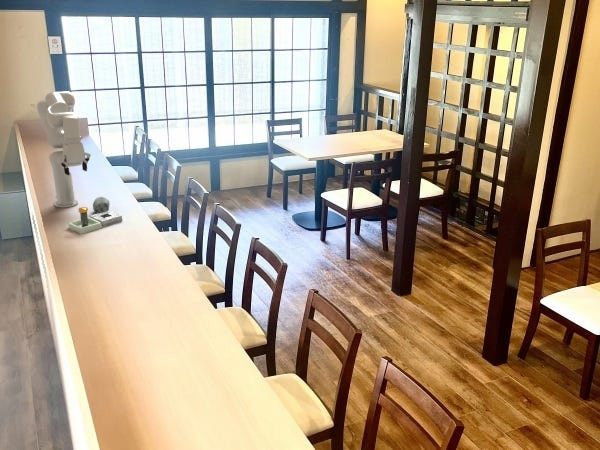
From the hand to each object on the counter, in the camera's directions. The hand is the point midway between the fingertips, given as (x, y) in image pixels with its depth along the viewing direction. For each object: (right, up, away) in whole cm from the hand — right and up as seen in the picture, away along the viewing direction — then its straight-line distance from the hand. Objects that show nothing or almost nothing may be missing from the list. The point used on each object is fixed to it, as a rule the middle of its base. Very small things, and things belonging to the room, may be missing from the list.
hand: (76, 172), depth 290 cm
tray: (+3, -29, +4) cm, 29 cm away
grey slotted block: (+11, -25, +14) cm, 31 cm away
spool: (+4, -20, +27) cm, 34 cm away
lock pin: (+3, -28, +4) cm, 28 cm away
